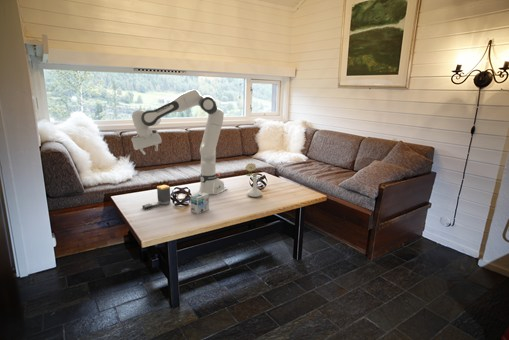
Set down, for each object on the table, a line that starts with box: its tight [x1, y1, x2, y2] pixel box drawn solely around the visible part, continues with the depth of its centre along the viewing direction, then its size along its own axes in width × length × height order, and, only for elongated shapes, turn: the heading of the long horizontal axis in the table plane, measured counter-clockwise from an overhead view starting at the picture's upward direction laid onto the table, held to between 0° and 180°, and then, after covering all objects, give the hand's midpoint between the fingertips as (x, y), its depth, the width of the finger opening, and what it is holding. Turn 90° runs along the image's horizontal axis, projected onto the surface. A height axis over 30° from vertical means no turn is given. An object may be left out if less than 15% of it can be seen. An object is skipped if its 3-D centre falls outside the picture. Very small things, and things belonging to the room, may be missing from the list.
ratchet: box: [142, 200, 171, 211], centre depth 202 cm, size 19×8×7 cm, turn 139°
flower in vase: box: [245, 162, 263, 198], centre depth 224 cm, size 13×11×25 cm
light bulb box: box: [190, 192, 210, 215], centre depth 196 cm, size 11×7×11 cm, turn 146°
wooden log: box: [156, 184, 171, 203], centre depth 206 cm, size 6×6×10 cm
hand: (151, 152), depth 213 cm, fingers open, 8 cm apart
